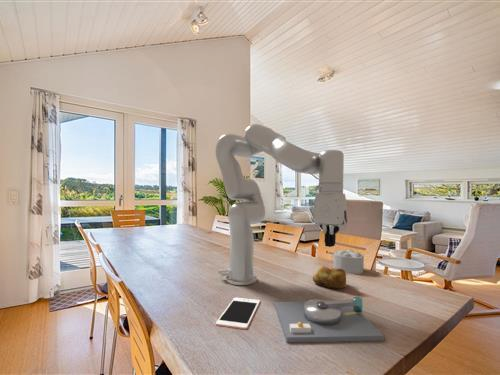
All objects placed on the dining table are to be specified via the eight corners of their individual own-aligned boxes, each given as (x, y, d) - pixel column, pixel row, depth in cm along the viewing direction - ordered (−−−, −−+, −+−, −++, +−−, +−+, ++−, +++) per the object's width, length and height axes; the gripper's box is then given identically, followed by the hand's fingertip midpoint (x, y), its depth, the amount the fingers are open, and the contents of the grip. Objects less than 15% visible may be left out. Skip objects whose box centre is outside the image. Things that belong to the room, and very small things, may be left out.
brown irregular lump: (309, 285, 101) (309, 264, 101) (317, 278, 109) (317, 259, 109) (344, 292, 94) (344, 270, 94) (349, 284, 102) (349, 264, 102)
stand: (286, 342, 63) (286, 328, 63) (274, 305, 83) (274, 295, 83) (383, 340, 64) (384, 327, 64) (348, 304, 84) (348, 294, 84)
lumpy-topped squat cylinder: (361, 275, 114) (361, 255, 114) (331, 270, 121) (331, 251, 121) (364, 269, 123) (364, 250, 123) (335, 265, 130) (336, 247, 130)
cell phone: (260, 302, 86) (260, 299, 86) (246, 331, 68) (246, 327, 68) (234, 299, 88) (234, 297, 88) (214, 326, 70) (214, 323, 70)
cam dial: (313, 326, 67) (313, 310, 67) (298, 309, 77) (298, 295, 77) (372, 321, 71) (372, 305, 71) (351, 305, 80) (351, 291, 80)
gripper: (304, 188, 87) (303, 243, 87) (347, 189, 76) (346, 252, 76) (317, 188, 92) (316, 241, 92) (358, 189, 81) (357, 248, 81)
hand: (329, 245), depth 84 cm, fingers closed
